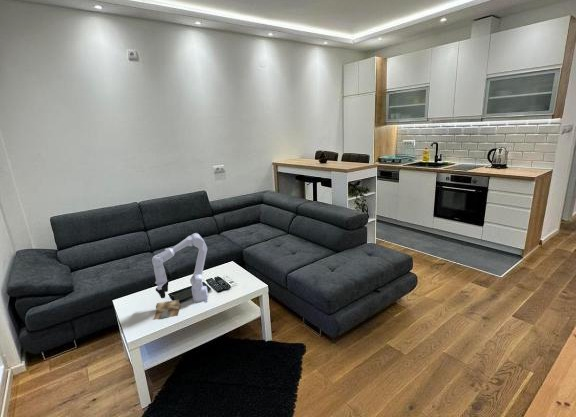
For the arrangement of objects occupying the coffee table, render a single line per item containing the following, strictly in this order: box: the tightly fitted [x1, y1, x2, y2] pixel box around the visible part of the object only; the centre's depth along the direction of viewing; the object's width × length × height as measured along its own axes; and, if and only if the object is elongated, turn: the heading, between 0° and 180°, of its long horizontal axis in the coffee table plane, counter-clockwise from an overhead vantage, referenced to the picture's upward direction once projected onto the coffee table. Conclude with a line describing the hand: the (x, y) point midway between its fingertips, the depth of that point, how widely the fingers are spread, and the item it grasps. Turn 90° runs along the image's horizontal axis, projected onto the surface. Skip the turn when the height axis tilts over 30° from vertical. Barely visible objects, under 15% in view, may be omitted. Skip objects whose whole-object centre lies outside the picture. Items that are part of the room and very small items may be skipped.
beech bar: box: [155, 299, 181, 312], centre depth 188 cm, size 13×4×4 cm, turn 100°
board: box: [152, 306, 181, 321], centre depth 185 cm, size 14×11×1 cm
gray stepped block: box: [161, 310, 171, 319], centre depth 181 cm, size 5×4×2 cm
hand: (164, 294), depth 187 cm, fingers open, 7 cm apart
